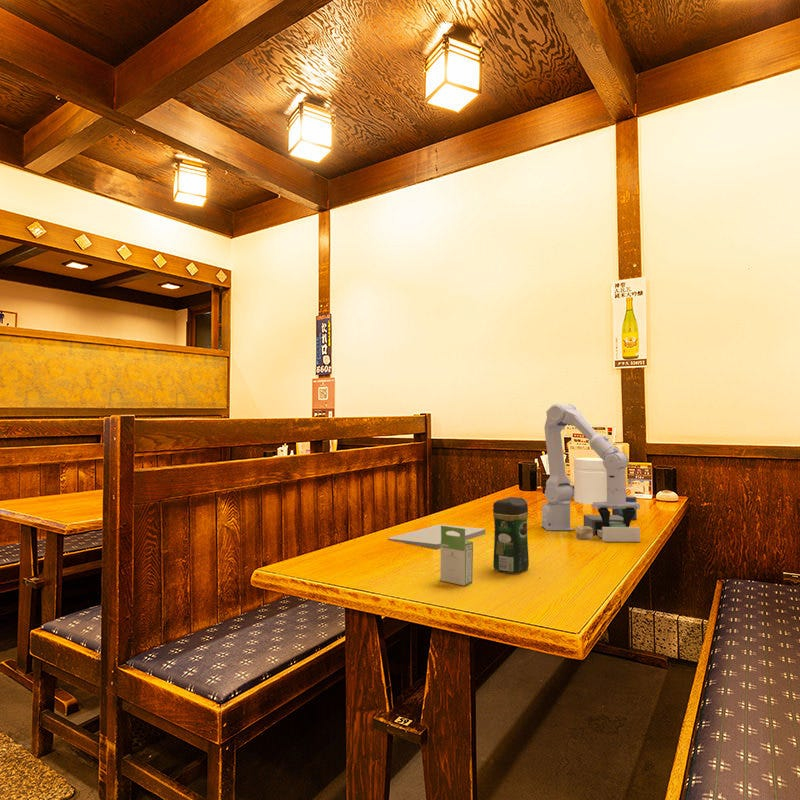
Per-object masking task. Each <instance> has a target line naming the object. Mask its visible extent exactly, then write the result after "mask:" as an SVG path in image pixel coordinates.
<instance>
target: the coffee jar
mask: <svg viewBox="0 0 800 800" xmlns="http://www.w3.org/2000/svg"><path fill="white" fill-rule="evenodd" d="M492 505H493V506H492V508H493V509H492V515H493V521H494V535H493V536H494V537H493V538H494V540H493V569H494V570H495V571H497V572H499V573H503V574H519V573H522V572H524V571H525V570H527V569H528V568H529V565H530V564H529V563H530V559H529V543H528V541H529V539H528V517H529V507H528V506H529V505H528V502H527V500H525V499H524V498H522V497H517V496H515V497H514V496H510V497H505V498H503V499H499V500H496V501H495V502H493V504H492Z"/></svg>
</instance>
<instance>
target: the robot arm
mask: <svg viewBox="0 0 800 800" xmlns="http://www.w3.org/2000/svg"><path fill="white" fill-rule="evenodd" d="M545 413H546V418H545V419H546V421H545V423H544V436H545V437H544V438H545V445H546V446H545V447H546V455H547V462H548V472H549V477H548V479H547V480H546V482H545V484H546V485H545V490H544V496H545V499H546V501H547V503H546V502H545V503H543V504H542V507H541V527H543V528H544V530H546V531H575V528H573V527H572V526H571V500H573V499H574V487H573V486H572V483H571V479H570V478H569V477H568V476H567V475H566V474H567V473H566V467H565V466H566V465H565V459H564V449H563V440H562V434H561V433H562V431H563V429H564V428H565V427H567V426H568V425H571V426H574V427H575V428H576V429H577V430H578V431H579V432H580V433H581V434H583V436H585V438H586V439H587V440H588V441H589V447H590V448H591V449H592V450H593V451H594V453H596V454H597V455H598V457H599V458H601V459H602V460H604V461H603V465H604V467H605V468H606V473H607V502H593V505H592V509H594V510H597V511H598V514H599V515H601V518H602V520H603V524H604V527H609V519H610V515H611V510H612V509H622V512H623V523H625V524H626V527H631V526H630V525H631V523H632V521H633V520H632V518H633V516H634V515H635V512H636V511H635V510H634V509H636V510H640V509H641V503H640V502H638V501H636V502H626V495H627V492H626V491H627V489H626V476H627V475H626V468H627V467H628V465H629V457H628V455H627V454H626V453H625V452H624V451H619V448H618V447H616V446H614V445H613V443H612V442H611V441H609V440H610V438H609V437H608V436H606V435H604V434H598V433H597V432H596V431H595V429H594V428H593V427H592V426H591V424H590V423H589V422H588V421H587V420H586V418H585V417H584V416H583V415H582V412H581V411H580V410H579V409H577V407H576V406H575V405H573V404H559V403H555V404H552V405H551V406H550V407H549V408H548V409H547V410H546V412H545ZM612 506H615V507H612ZM610 509H611V510H610ZM609 510H610V511H609Z"/></svg>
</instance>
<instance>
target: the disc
mask: <svg viewBox="0 0 800 800" xmlns="http://www.w3.org/2000/svg"><path fill="white" fill-rule="evenodd" d="M609 527H626V524H625V523H621V522H609Z"/></svg>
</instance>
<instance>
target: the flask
mask: <svg viewBox="0 0 800 800" xmlns="http://www.w3.org/2000/svg"><path fill="white" fill-rule="evenodd" d="M626 502H637V496H633V495H632V496H630V495H627V494H626ZM612 507H615V506H612ZM634 510H635V511H636V512H635V515H634V516H633V518H632V520H631V521H637V511H638V509H634ZM611 513H612V514H611V515H619V516H621V517H623V512H622V509H611Z"/></svg>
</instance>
